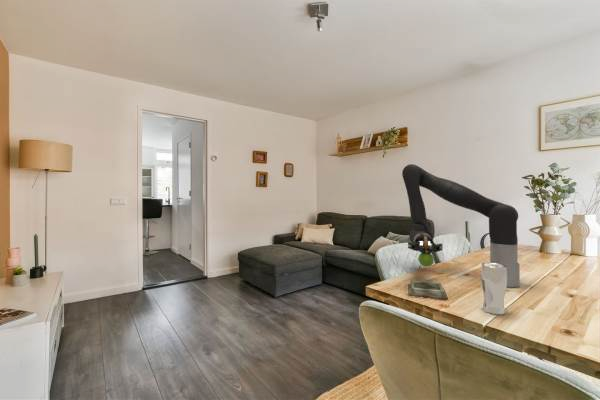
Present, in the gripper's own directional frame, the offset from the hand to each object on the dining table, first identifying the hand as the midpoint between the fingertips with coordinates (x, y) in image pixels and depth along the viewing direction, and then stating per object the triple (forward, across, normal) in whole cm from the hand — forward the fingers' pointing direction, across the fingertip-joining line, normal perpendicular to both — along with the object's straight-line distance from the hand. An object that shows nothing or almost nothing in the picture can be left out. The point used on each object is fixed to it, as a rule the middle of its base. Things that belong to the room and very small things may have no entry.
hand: (426, 250), depth 103 cm
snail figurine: (-3, 0, +7) cm, 7 cm away
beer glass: (+8, +19, +17) cm, 27 cm away
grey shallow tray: (-3, 0, +17) cm, 17 cm away
